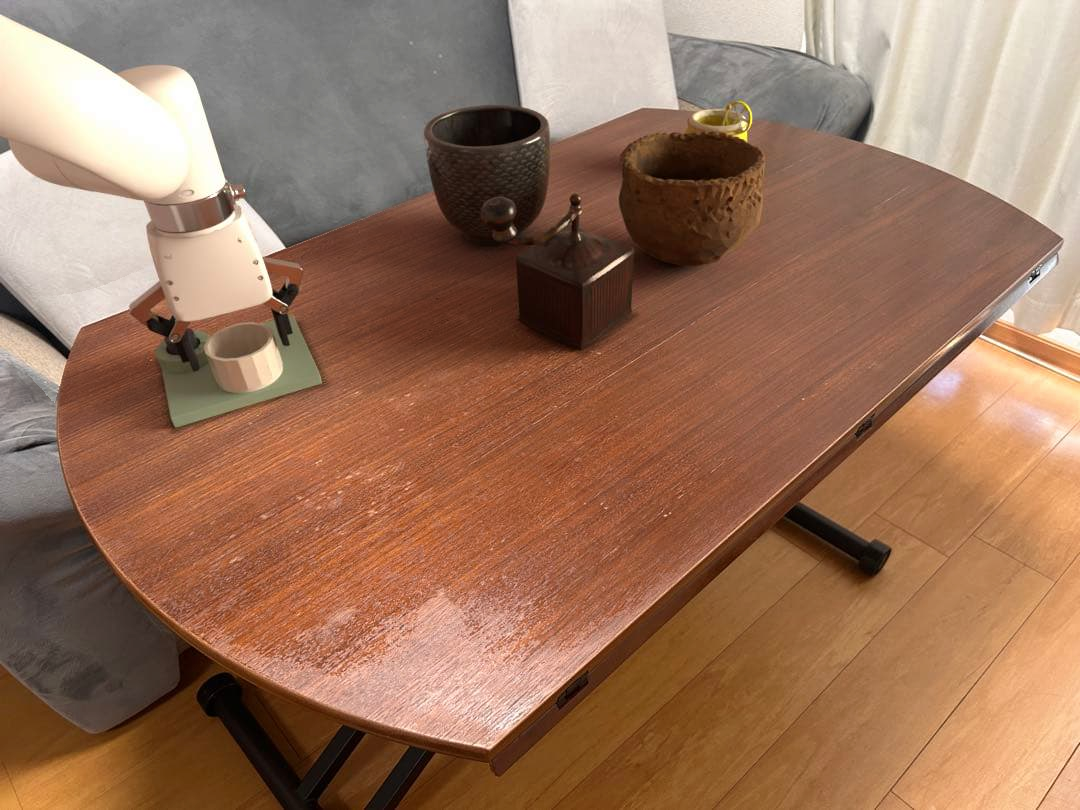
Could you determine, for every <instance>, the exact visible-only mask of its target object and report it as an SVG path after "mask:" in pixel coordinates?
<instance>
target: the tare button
mask: <svg viewBox="0 0 1080 810" xmlns="http://www.w3.org/2000/svg"><path fill="white" fill-rule="evenodd" d="M194 331H195V330H193V329H191V328H189V327H187V332H188V334H189V337H190V340H191V342H192V345H193V347H194V350H195V349H196V348H198V342H197V339H196V337H195V334H194ZM164 339H165V342H166V345H167V347H168V349H169V352H170V353H171V354H172V355H179V352H178V350H177V347H176V345H175V343H174V342H171V341H170V340H169V338H167V337H165V336H164Z"/></svg>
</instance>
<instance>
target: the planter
mask: <svg viewBox="0 0 1080 810" xmlns="http://www.w3.org/2000/svg"><path fill="white" fill-rule="evenodd" d="M550 128H551V127H550V124H549V120H548V119H547V118H546V117H545V116H544V115H543V114H542V113H541V112H538V111H536V110H534V109H530V108H527V107H523V106H517V105H511V104H509V105H508V104H480V105H472V106H471V105H470V106H466V107H460V108H455V109H452V110H450V111H446V112H443V113H440V114H439V115H437V116H435V117H433V118H431V120H429V121H428V122H427V123H426V125H425V126H424V128H423V142H424V147H425V155H426V162H427V167H428V168H427V169H428V172H429V178H430V181H431V185H432V189H433V194H434V197H435V199H436V202H437V205H438V208H439V209H440V211H441V213H442V215H443V216H444V218H445V219H446V221H447V222H448V223H449V224H450V225H451V226H452V227H453V228H455V230H457V231H459V232H460V233H462V234H463V235H464V237H465V238H466V239H467V240H469V241H470V242H471V243H473V244H476V245H479V246H486V247H497V246H503V245H508V244H511V243H510V242H508V241H507V242H498V241H495V239H494V238H493V237H492V234H493V229H492V228H491V227H489V226H488V225H486V224H485V223H484V222H483V221H482V219H481V217H480V214H481V210H482V208H483V205H484V203H485V202H486V201H488V200H489V199H491V198H493V197H505V198H507V199H510V200H512V201H513V203H514V204H515V206H516V215H515V218H514V220H513V221H512V224H513V225H514V226H515V227H516V229H517V234H516V236H518V237H522V236H523V235H524V234H525V232H526V230H527V229H528V228H529V227H530V226H531V225H533V223H535V221H536V220H537V219H538V218H539V215H540V214H541V212H542V210H543V208H544V206H545V203H546V198H547V194H548V189H549V178H550V166H551V165H550V163H551V131H550Z"/></svg>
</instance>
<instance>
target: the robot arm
mask: <svg viewBox="0 0 1080 810" xmlns="http://www.w3.org/2000/svg"><path fill="white" fill-rule="evenodd" d="M212 135H213V134H212V131H211V129H210V125H209V122H208V119H207V116H206V112H205V110H204V106H203V103H202V100H201V96H200V93H199V90H198V87H197V84H196V82H195V80H194V79H193V77H192V76H191V74H189V72H188V71H186V70H185V69H183V68H181V67H179V66H173V65H169V64H168V65H167V64H152V65H151V64H150V65H142V66H135V67H132V68H131V67H130V68H127V69H124V70H122V71H119V72H117V73H115V72H114V71H112V70H110V69H109V68H108V67H105V66H104V65H102V64H100V63H98V62H96V60H93V59H92V58H90V57H88V56H86V55H84V54H83V53H80V52H79V51H77V50H75V49H73V48H71V47H70V46H67V45H65V44H63V43H61V42H59V41H57V40H55V39H53V38H50V37H48V36H47V35H44V34H42V33H40V32H38V31H37V30H34V29H31V28H29V27H27V26H25V25H23V24H21V23H19V22H18V21H15V20H14V19H13V20H12V19H10V18H8V17H6V16H5V15H3V14H1V13H0V137H1V138H3V139H7V141H8V146H9V148H10V151H11V152H12V155H13V156H14V158H15V159H16V161H17V162H18V163H19V164H20V165H21V167H22V168H24V170H26V171H27V172H29V173H30V174H31V175H32V176H35V177H36V178H38V179H39V180H40V179H41V180H42V181H45V182H47V183H50V184H53V185H57V186H61V187H66V188H71V189H76V190H81V191H82V190H83V191H88V192H92V193H93V192H94V193H98V194H105V195H111V196H115V197H120V198H124V199H131V200H136V201H143V203H144V206H145V208H146V211H147V213H148V216H149V219H150V221H149V222H148V223H147V224H146V226H145V229H146V237H147V242H148V247H149V251H150V255H151V258H152V262H153V265H154V268H155V271H156V274H157V275H156V276H157V277H158V281H157V282H156V283H154V284H153V285H152V286H151V287H149V288H148V289H147V290H146V291H145V292H144V293H142V294H141V295H139V297H137V298H135V300H133V301H132V302H131V303H130V304H129V305H128V310H129V315H130V316H132V318H134V319H135V320H137V321H138V322H139V323H141V325H144V326H145V327H146V328H147V330H148V331H150V332H152V333H154V334H157V335H159V336H162V337H164V338H165V337H167V338H169V340H170V341H171V342H174V343H175V345H176V347H177V350H178V352H179V355H180V357H181V360H182V362H183V363H186V362H190V365H191V367H192V370H193V372H195V371H198V369H200V367H199V363H198V359H197V355H196V352H195V350H194V347H193V345H192V342H191V340H190V337H189V334H188V332H187V328H189V326H190V324H191V323H194V322H198V321H203V320H206V319H210V318H211V319H212V318H215V317H219V316H223V315H227V314H230V313H234V312H239V311H242V310H243V311H244V310H246V309H249V308H250V309H251V308H253V307H258V306H260V305H265V306H266V307H268V308H270V310H271V314H272V317H273V320H274V321H275V324H276V327H277V331H278V334H279V336H280V339H281V341H282V344H283V346H289V345H290V343H289V339H288V336H287V335H289V334H293V331H292V328H291V324H290V321H289V317H288V316H289V315H288V313H289V312H290V306H291V305H292V303H293V302H294V300H295V299H296V297H298V294H299V292H300V290H299V288H300V286H301V283H302V280H303V276H304V270H303V267H302V265H301V264H300V263H296V262H293V261H287V260H281V259H277V258H271V257H267V256H263V255H262V252H261V249H260V246H259V244H258V241H257V238H256V235H255V234H254V231H253V229H252V226H251V224H250V221H249V219H248V217H247V216H246V214H245V212H244V209H242V207H241V206H240V205H239V204H237V202H239V201H240V200H242V199H247V193H246V190H245V187H244V185H243V183H240V184H235V183H233V184H231V183H230V182H229V181H226V178H225V173H224V172H223V168H222V165H221V162H220V161H221V160H220V157H219V155H218V152H217V149H216V145H215V142H214V138H213V136H212ZM269 274H270V275H271V274H272V275H277V276H282V277H286V280H285V282H284V284H283V285H282V286H281V288H280V289H279V291H278V290H276V289H275V288H273V287H272V282H271V278H270V275H269ZM164 300H165V301H166V303H167V306H168V309H169V310H170V312H171V314H170V316H169V318H166V317H164V316H161V315H158V314H155V313H153V312H152V309H153V308H155V307H156V306H157V305H158V304H159V303H161V302H162V301H164Z"/></svg>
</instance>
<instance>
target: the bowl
mask: <svg viewBox="0 0 1080 810" xmlns="http://www.w3.org/2000/svg"><path fill="white" fill-rule="evenodd" d="M619 161H621V162H622V168H621V171H622V172H621V174H622V183H621V187H620V190H619V195H618V206H619V210H620V213H621V217H622V220H623V223H624V226H625V229H626V231H627V233H628V235H629V236H630V237H631V239H632V241H633V242H634V243H635V244H636V245H637V247H639V249H640V250H642V251H643V252H645V253H646V254H648V255H650V256H652V257H654V258H656V259H657V260H660V261H661V262H664V263H665V264H666V263H667V264H671V265H679V266H686V267H687V266H688V267H690V266H703V265H704V266H705V265H711V264H713V263H716V262H718V261H720V260H722V259H724V258H725V257H726V256H728V255H729V254H731V253H732V252H733V251H735V250H736V249H737V248H738V247H739V246H740V245H741V244H742V243H744V241H745V240H747V238H748V237H749V236H751V234H752V233H753V232H754V231H755V229H756V228H757V227H758V226H759V225H760V222H761V216H762V212H763V205H764V196H763V195H764V194H763V183H764V177H765V176H764V175H765V167H766V156H765V154H764V153H763V151H762V150H761V149H760V148H759V147H758V146H754V145H752V144H750V143H749V142H748V141H747V142H746V141H745V140H744V139H740V138H739V137H734V136H733V134H732V135H727V134H726V133H725V132H724V133H718V132H709V131H702V132H701V133H687V134H685V133H682V132H679V131H676V132H671V133H667V132H662V133H660V132H655V133H649V134H646V135H643V136H642V137H638V138H636V140H633V142H630V143H628V144H627V146H626V147H625V148H624V149H623V150H622V152H621V153H620V156H619Z"/></svg>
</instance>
